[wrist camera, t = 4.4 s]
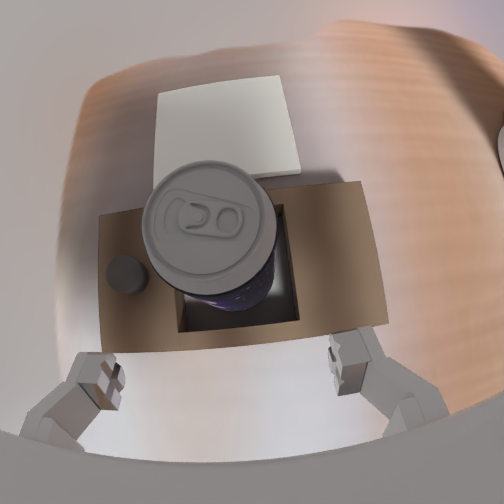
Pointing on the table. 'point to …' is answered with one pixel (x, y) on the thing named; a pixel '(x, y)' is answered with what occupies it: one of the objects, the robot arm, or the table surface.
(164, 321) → the base
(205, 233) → the beverage can
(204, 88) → the pad
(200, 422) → the table surface
